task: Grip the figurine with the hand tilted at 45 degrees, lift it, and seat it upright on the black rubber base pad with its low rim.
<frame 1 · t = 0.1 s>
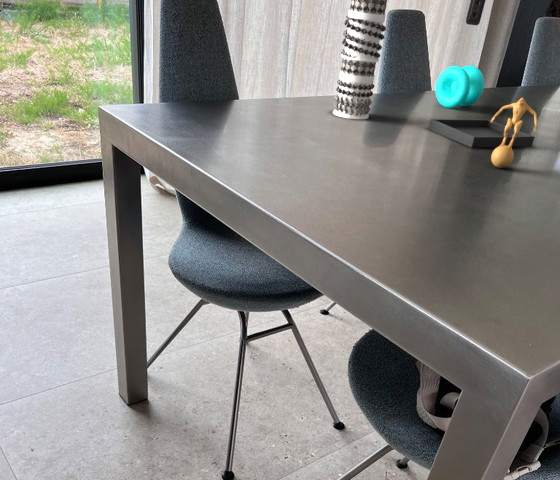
hand: (471, 23, 95), 22 cm above the table, tool pointing down, fingers open, 8 cm apart
decorative candle: (350, 115, 133), on the table
base pad: (478, 137, 127), on the table
donuts: (454, 107, 156), on the table
figurine: (499, 167, 108), on the table
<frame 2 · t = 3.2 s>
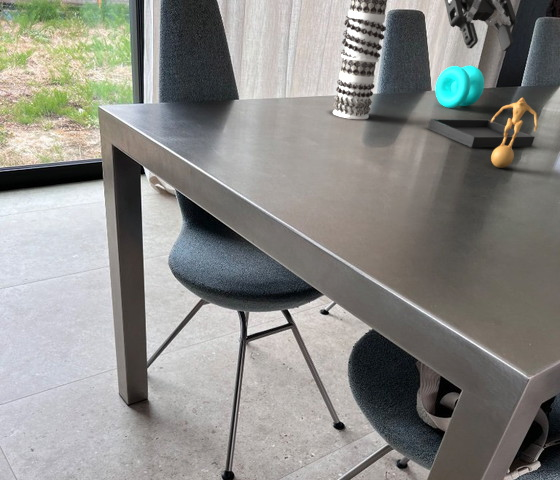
hand: (490, 46, 105), 18 cm above the table, tool tilted 45°, fingers open, 8 cm apart
nothing on the table moved.
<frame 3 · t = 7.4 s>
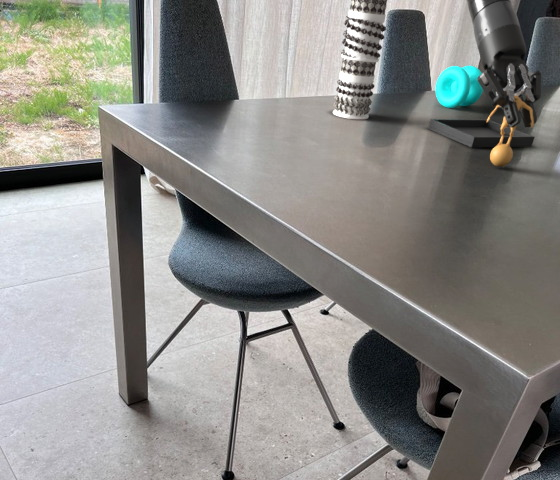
hand: (523, 124, 102), 8 cm above the table, tool tilted 45°, fingers closed on figurine, 3 cm apart
figurine: (500, 165, 108), on the table, touching gripper
everything else where it was.
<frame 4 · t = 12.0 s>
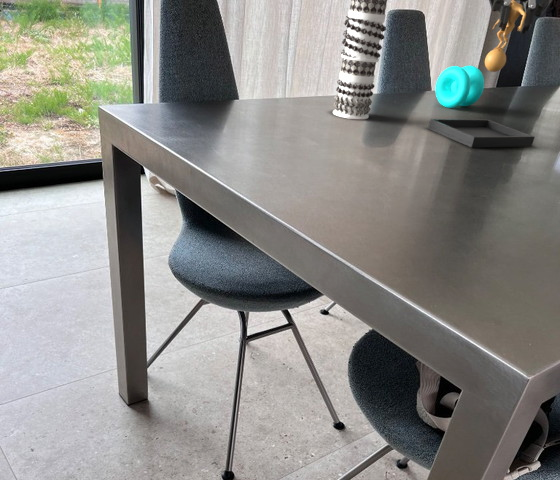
hand: (514, 28, 108), 22 cm above the table, tool tilted 45°, fingers closed on figurine, 3 cm apart
figurine: (497, 72, 114), point 14 cm above the table, touching gripper
everything else where it was.
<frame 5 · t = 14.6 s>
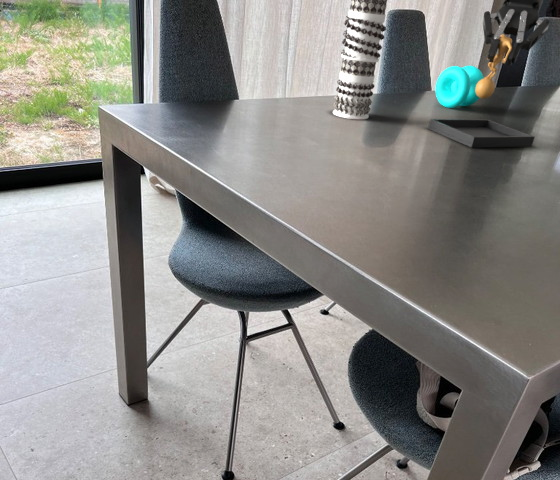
hand: (500, 60, 116), 15 cm above the table, tool tilted 45°, fingers closed on figurine, 3 cm apart
figurine: (487, 99, 123), point 8 cm above the table, touching gripper
everything else where it was.
when the fingers open (8 cm above the table, at t = 16.8 s): figurine stays where it is, resting on base pad.
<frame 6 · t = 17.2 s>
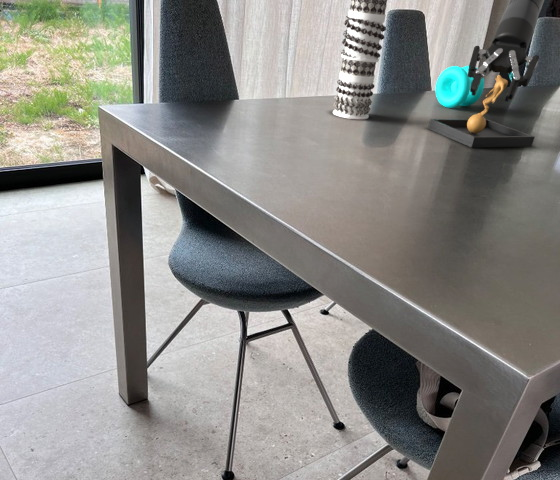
hand: (490, 95, 121), 9 cm above the table, tool tilted 45°, fingers open, 6 cm apart
figurine: (477, 134, 127), resting on base pad
everything else where it was.
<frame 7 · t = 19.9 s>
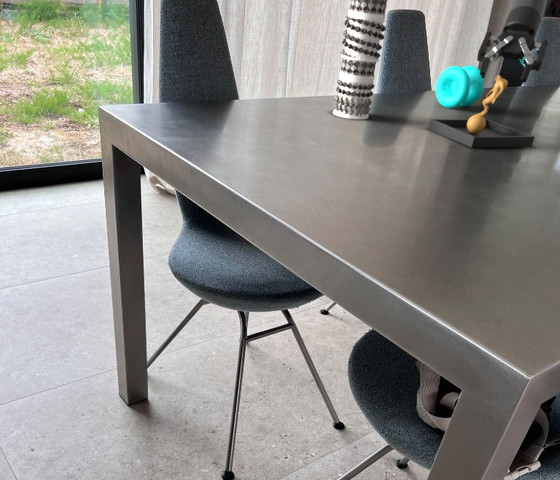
hand: (501, 79, 128), 11 cm above the table, tool tilted 45°, fingers open, 8 cm apart
nothing on the table moved.
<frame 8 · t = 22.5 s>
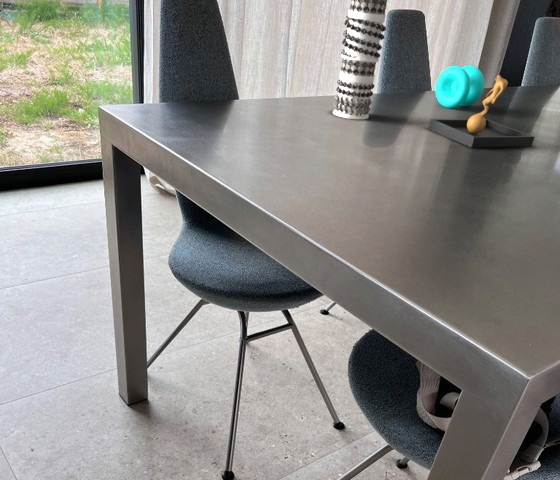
nothing on the table moved.
at the end: figurine inside the target area in the base pad (0.6 cm from its centre), point 0.4 cm above the base pad's base; figurine tilted 0°; the gripper is holding nothing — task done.
